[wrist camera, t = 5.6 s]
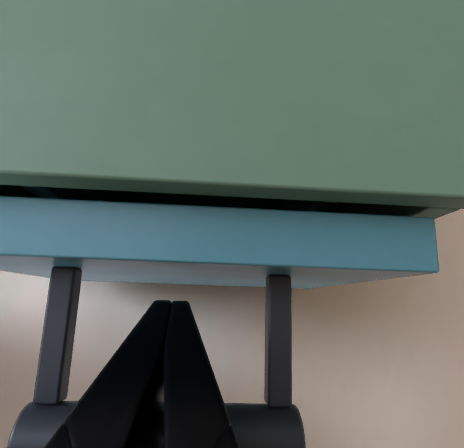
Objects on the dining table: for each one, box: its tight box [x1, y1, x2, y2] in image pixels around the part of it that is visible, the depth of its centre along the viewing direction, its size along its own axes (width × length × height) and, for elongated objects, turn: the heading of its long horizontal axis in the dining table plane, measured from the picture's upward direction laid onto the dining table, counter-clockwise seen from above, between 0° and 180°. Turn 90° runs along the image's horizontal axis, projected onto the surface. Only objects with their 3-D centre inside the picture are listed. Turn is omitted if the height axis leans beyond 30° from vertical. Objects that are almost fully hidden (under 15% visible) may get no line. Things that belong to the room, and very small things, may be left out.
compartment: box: [0, 186, 439, 448], centre depth 13 cm, size 18×11×10 cm, turn 178°
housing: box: [0, 0, 464, 219], centre depth 14 cm, size 15×13×12 cm
